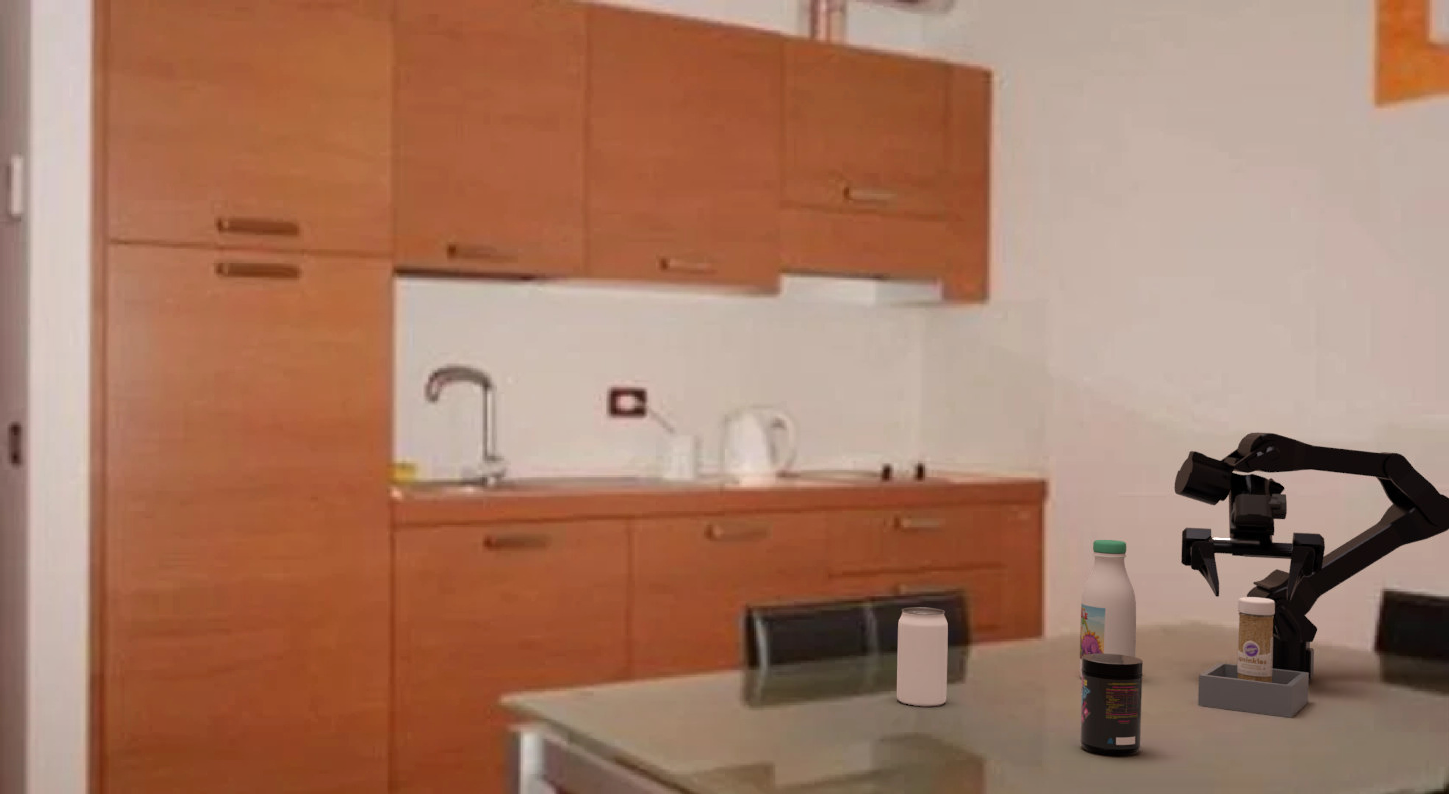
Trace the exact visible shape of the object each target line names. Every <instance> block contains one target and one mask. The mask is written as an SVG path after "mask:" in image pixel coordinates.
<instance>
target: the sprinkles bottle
mask: <svg viewBox="0 0 1449 794" xmlns="http://www.w3.org/2000/svg"><path fill="white" fill-rule="evenodd" d="M1237 611H1238V616H1239V618H1238V649H1237V659H1236V660H1237V661H1236V662H1237V663H1236V664H1237V672H1238V679H1244V680H1252V681H1261V682H1269V683H1272V666H1273V617H1274V616H1273V615H1274V614H1275V602H1274V601H1273V600H1271V599H1266V598H1259V597H1247V596H1243V597H1239V598H1238V604H1237Z"/></svg>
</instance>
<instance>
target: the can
mask: <svg viewBox="0 0 1449 794" xmlns="http://www.w3.org/2000/svg"><path fill="white" fill-rule="evenodd" d="M945 613H946V612H945V610H943V609H939V608H934V607H916V606H915V607H905V608H902V609H901V615H900V617H899V619H898V623H897V624H898V626H897V657H896V658H897V659H896V660H897V663H896V665H897V666H896V670H897V671H896V699H897V700H898V702H899V701H900V702H901V704H903V705H906V704H908V705H907V706H910V705H913V706H912V707H919V706H920V707H921V708H924V707H925V708H931V707H932V708H933V707H934V708H935V707H939V706H943V705H944V703H945V702H947V687H948V638H949V637H948V635H949V631H948V630H949V628H948V626H949V625H948V621H947V618H946V616H945ZM900 702H899V703H900Z"/></svg>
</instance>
